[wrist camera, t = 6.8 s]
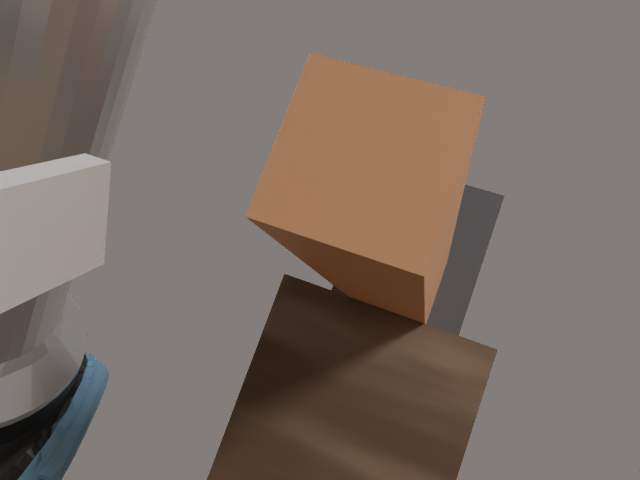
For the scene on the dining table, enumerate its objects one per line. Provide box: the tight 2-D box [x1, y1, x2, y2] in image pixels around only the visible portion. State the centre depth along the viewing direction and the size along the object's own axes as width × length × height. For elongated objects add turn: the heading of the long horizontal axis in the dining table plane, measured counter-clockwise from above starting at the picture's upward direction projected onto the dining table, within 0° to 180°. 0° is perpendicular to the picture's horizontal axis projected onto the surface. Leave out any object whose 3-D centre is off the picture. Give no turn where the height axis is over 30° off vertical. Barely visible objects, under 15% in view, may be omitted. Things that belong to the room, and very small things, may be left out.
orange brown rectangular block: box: [246, 53, 504, 336], centre depth 24 cm, size 26×7×8 cm, turn 168°
